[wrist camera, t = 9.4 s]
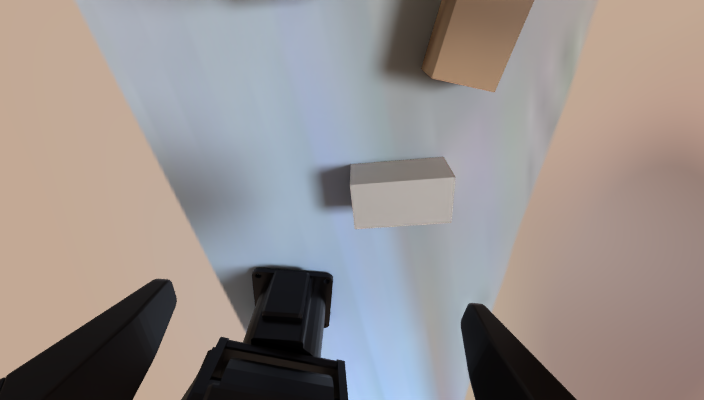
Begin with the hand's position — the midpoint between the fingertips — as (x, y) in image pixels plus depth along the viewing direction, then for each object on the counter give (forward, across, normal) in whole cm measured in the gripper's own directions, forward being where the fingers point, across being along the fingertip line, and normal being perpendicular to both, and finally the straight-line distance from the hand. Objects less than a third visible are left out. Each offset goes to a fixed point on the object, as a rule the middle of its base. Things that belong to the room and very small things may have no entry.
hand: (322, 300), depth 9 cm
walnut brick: (+12, -6, -8) cm, 16 cm away
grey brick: (+12, -4, +2) cm, 13 cm away
